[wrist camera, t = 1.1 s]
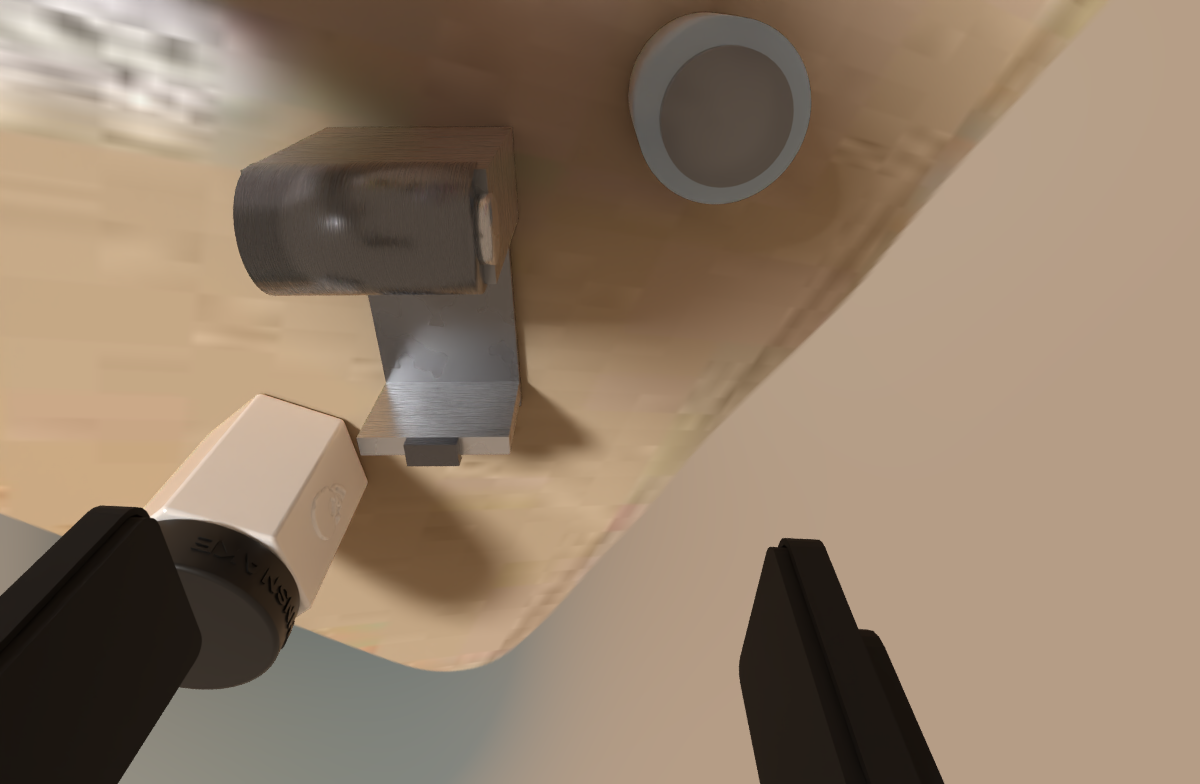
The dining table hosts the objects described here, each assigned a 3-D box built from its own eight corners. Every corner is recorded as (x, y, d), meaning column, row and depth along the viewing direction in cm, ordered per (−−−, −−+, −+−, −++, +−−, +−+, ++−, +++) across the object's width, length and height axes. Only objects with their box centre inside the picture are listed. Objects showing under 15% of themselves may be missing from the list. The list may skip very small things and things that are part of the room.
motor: (532, 400, 35) (513, 532, 27) (384, 401, 35) (315, 534, 27) (514, 121, 28) (478, 179, 19) (325, 122, 28) (203, 180, 19)
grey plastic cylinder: (629, 12, 26) (640, 17, 20) (779, 11, 26) (833, 16, 20) (626, 167, 29) (635, 210, 23) (760, 166, 29) (802, 209, 23)
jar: (384, 509, 39) (310, 689, 29) (254, 522, 40) (137, 704, 30) (334, 383, 35) (227, 545, 24) (189, 399, 35) (23, 565, 25)
